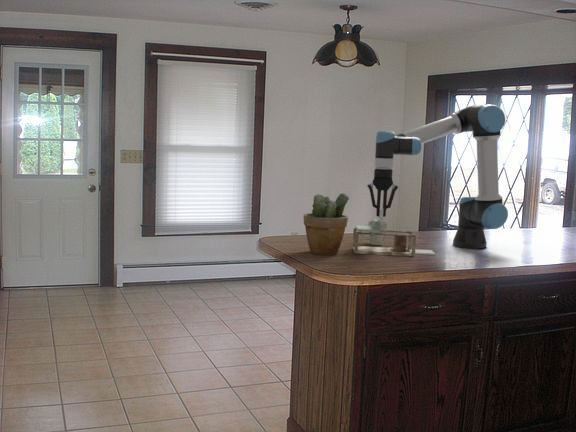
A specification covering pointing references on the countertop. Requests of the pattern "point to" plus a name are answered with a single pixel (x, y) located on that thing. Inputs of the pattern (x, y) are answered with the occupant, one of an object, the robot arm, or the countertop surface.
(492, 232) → the countertop surface
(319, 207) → the potted plant
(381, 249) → the grey rectangular frame
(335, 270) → the countertop surface
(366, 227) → the cover
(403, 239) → the block
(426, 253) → the coaster
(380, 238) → the mug
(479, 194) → the robot arm
